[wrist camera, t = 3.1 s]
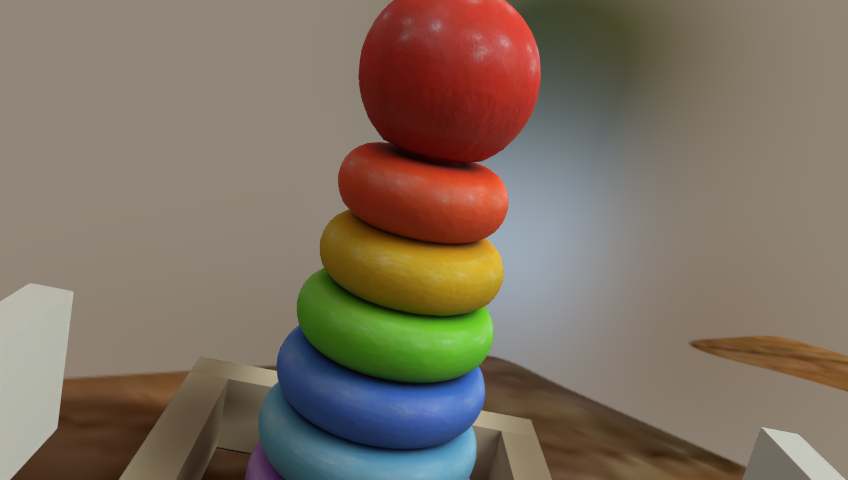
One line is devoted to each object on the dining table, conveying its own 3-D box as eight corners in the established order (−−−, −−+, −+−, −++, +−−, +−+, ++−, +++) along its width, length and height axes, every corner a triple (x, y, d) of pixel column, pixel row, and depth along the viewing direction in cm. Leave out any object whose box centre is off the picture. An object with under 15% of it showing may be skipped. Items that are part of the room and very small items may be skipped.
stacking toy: (206, 494, 27) (299, -46, 23) (409, 488, 30) (524, 15, 26) (239, 670, 20) (383, -60, 16) (498, 637, 23) (675, 25, 19)
